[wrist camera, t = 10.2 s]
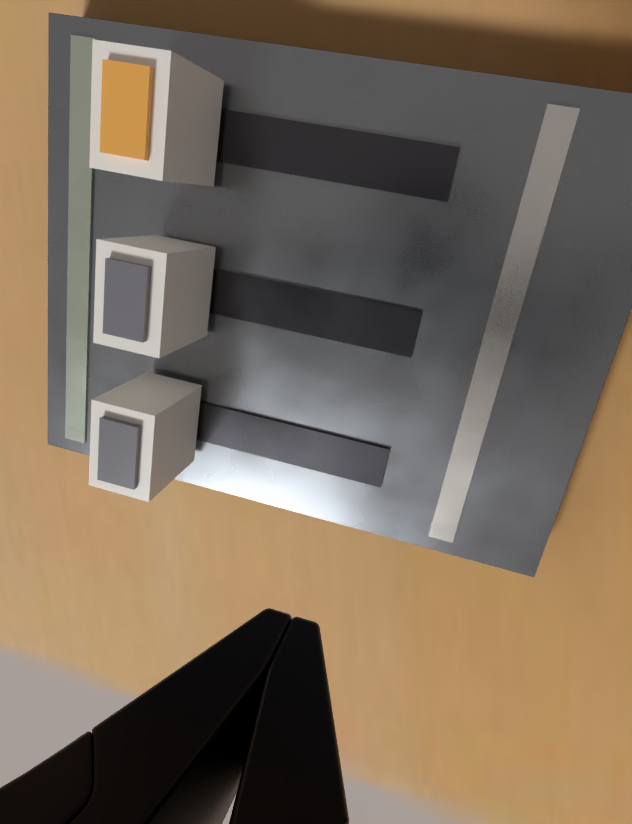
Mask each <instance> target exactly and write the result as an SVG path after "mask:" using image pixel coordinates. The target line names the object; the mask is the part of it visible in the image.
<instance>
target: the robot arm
mask: <svg viewBox="0 0 632 824" xmlns="http://www.w3.org/2000/svg"><path fill="white" fill-rule="evenodd" d="M236 793H237V794H236ZM235 795H236V798H235V802H234V806H233V810H232V815H231V818H230V822H229V824H349V817H348V811H347V804H346V798H345V791H344V784H343V778H342V771H341V765H340V758H339V751H338V745H337V738H336V732H335V725H334V719H333V712H332V706H331V699H330V693H329V686H328V679H327V673H326V666H325V660H324V653H323V647H322V640H321V634H320V628H319V625H318V624H317V623H316V622H313V621H310V620H306V619H303V618H300V617H294V618H293V619H292V618H291V616H290V615H289V614H287V613H284V612H280V611H277V610H274V609H269V608H268V609H265V610H263V611H262V612H261V613H259V614H258V615H256V616H255V617H253V618H252V619H250V620H249V621H248V622H246V623H245V624H243V625H242V626H240V627H239V628H237V629H236V630H234V631H233V632H232V633H230V634H229V635H227V636H226V637H224V638H223V639H221V640H220V641H219V642H217V643H216V644H214V645H213V646H211V647H210V648H208V649H207V650H205V651H204V652H203V653H201V654H200V655H198V656H197V657H195V658H194V659H192V660H191V661H190V662H188V663H187V664H185V665H184V666H182V667H181V668H179V669H178V670H176V671H175V672H174V673H172V674H171V675H169V676H168V677H166V678H165V679H163V680H162V681H161V682H159V683H158V684H156V685H155V686H153V687H152V688H150V689H149V690H148V691H146V692H145V693H143V694H142V695H140V696H139V697H137V698H136V699H134V700H133V701H132V702H130V703H129V704H127V705H126V706H124V707H123V708H122V709H120V710H119V711H117V712H116V713H115V714H113V715H111V716H110V717H108V718H107V719H105V720H104V721H103V722H101V723H100V724H98V725H97V726H95V727H94V728H93V730H92V733H91V732H86V733H85V734H83V735H82V736H80V737H79V738H78V739H76V740H75V741H73V742H72V743H70V744H69V745H67V746H66V747H64V748H63V749H61V750H60V751H58V752H57V753H55V754H54V755H52V756H51V757H49V758H48V759H46V760H45V761H43V762H42V763H40V764H39V765H37V766H35V767H34V768H32V769H31V770H29V771H28V772H26V773H25V774H23V775H21V776H20V777H18V778H16V779H14V780H13V781H11V782H9V783H8V784H6V785H4V786H3V787H1V788H0V824H222V822H223V820H224V818H225V816H226V814H227V812H228V810H229V807H230V806H231V803H232V801H233V799H234V797H235Z"/></svg>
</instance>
